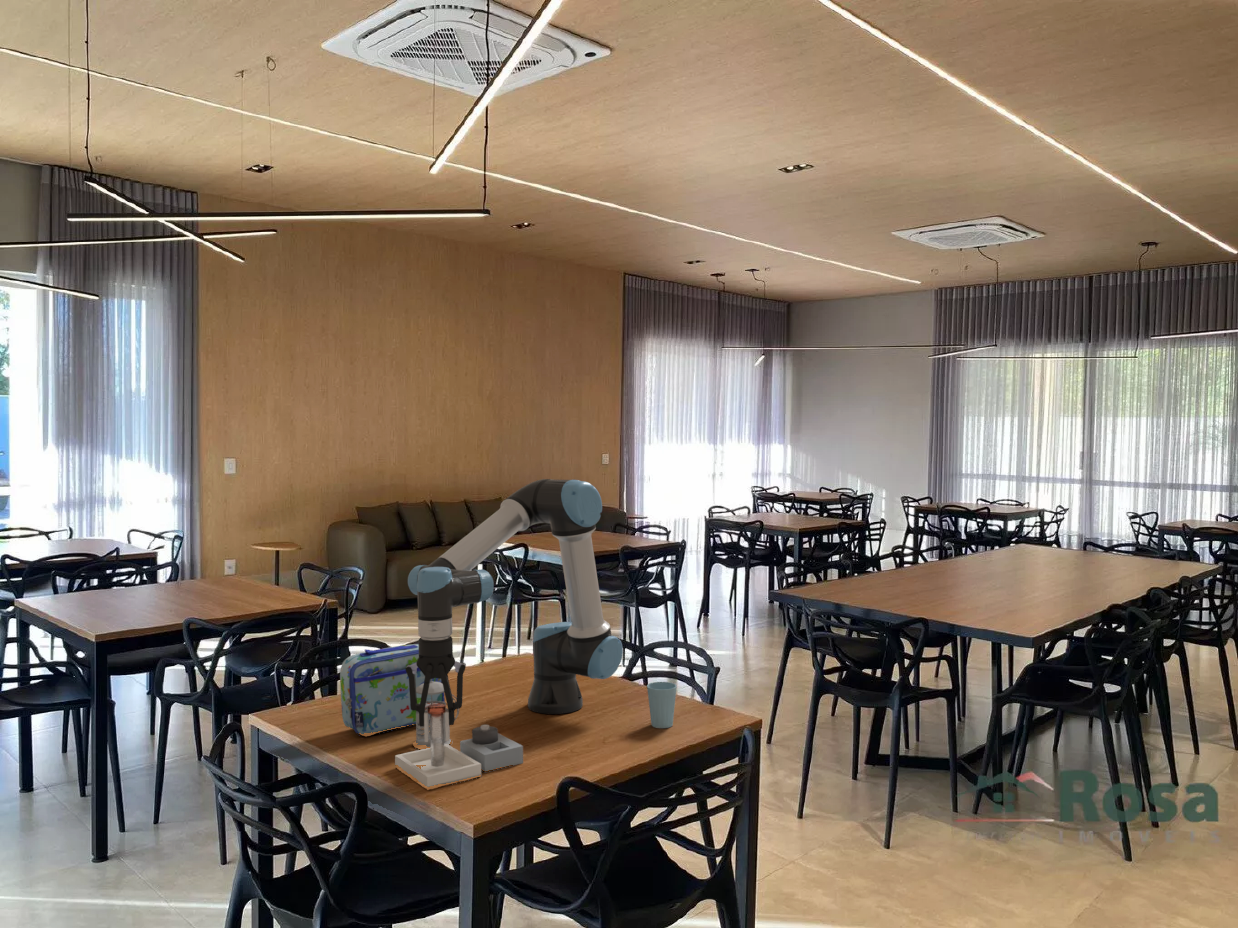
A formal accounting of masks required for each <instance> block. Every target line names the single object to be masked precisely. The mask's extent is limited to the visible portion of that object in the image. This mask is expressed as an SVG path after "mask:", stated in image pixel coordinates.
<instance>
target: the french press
mask: <svg viewBox="0 0 1238 928" xmlns="http://www.w3.org/2000/svg"><path fill="white" fill-rule="evenodd" d="M423 685H424V683H423V684H421V685H420V686H418V687H417V688H416V693H418V694H422V691H423ZM440 693H444V688H443V684H442V683H440V682H433V681H432V679H431V681H430V685H429V690H428V695H431V701H426V706H425V710H428V706H429V705H432V704H444V705H446V706H447V702H446V701H445V702H444V701H436V700H435V701H432V695H435V694H440ZM444 694H445V693H444ZM452 697H453V702H454V703H455V702H457V696H455V695H454V694H452ZM419 704H420V703H419ZM446 709H448V707H446ZM459 714H460V709H459V708H458V709H456V714H455V715H456V716H455V717H454V720H455V721H456V720H457V718H458V717H459ZM429 720H430V716H429ZM415 731H416V732H415V734H416V735H415V737H416V740H415V741H416V743H418V744H417V745H426V746H427V747H431V741H430V721H429V740H428V742H425V738H424V726H421V727H420V725H419V712H418V711H416V725H415ZM451 740H452V739H451V738H450V739H449V741H446V732H445V713H444V744H448V745H449V744H450V742H451Z"/></svg>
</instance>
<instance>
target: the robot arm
mask: <svg viewBox="0 0 1238 928" xmlns="http://www.w3.org/2000/svg"><path fill="white" fill-rule="evenodd" d="M602 501H603V500H602V497H601V495H600V492H599V491H598V489H597V488H596V487H595V486H594V485H593V484H591V483H590V482H588V481H584V480H579V479H550V478H542V479H539V480H538V479H536V480H534V481H532V482H530V483H528V484H526V485H524V486H522V487H521V488H519V489H517V490H516V491H515V492H513V493H512V494H510V495H509V496H508V497H506V498H505V499H503V501H502V502H501V503H500V506H499V507H500V508H499V509H497V510H496V511H495V512H494V513H493V514H492V515H490V516H489V517H487V518H486V519H485V520H484V521H483V522H481V523H480V524H479V525H477V526H476V527H475V528H474V529H473V530H471V531H470V532H469V533H468V534H467V535H464V537H462V538H461V539H460V540H459V541H457V542H456V543H455V544H454V545H453V546H451V547H450V548H449V549H448V550H446V551H445V552H444V553H443V554H441V555H440V556H439V557H437V559H435V560H433V561H432V562H431V563H430V564H428V565H427V564H422V565H421V564H419V565H416V566H414V567H413V568H412V569H411V570H410V572H409V574H408V576H407V587H408V589H409V591H410V592H411V593H412V594H413V595H415V596H417V615H418V616H417V624H418V625H417V630H418V631H417V633H418V636H419V637H420V638H419V639H418V644H419V658H418V660H417V663H414V664H412V665H407V667H406V673H407V675H408V677H409V690H410V707H411V710H415V711H418V712H419V725H420V727H421V726H424V728H423V729H424V733H423V734H424V738H425V742H428V740H429V732H430V731H429V727H430V726H429V722H430V721H429V713H428V710H425V706H426V701H427V695H428V690H429V685H430V680H431V679H434V678H439V679H441V681H442V684H443V688H444V698H445V702H446V707H447V709H446V711H445V732H446V741H449V739H451V737H450V736H451V735H450V733H451V731H450V728H451V727H450V726H454V724H455V721H456V720H454V719H455V711H457V709H458V710H459V709H462V707H463V696H464V694H463V689H464V686H463V685H464V673H465V670H466V668H467V667H466V666H467V664H466V662H459V661H457V660H456V658H455V657H454V648H453V646H454V645H453V637H452V635H453V608H455V607H459V606H466V605H471V604H472V605H473V604H479V603H481V602H484V601H487V600H489V599H490V598H491V597H492V595H493V594H494V590H495V589H494V586H495V585H494V584H495V583H494V579H493V576H492V575H491V574H490V572H489V571H487V570H485V569H474V568H476V567H477V566H478V565H480V564H481V563H482V562H483V561H484V560H485V559H487V557H489V556H490V555H491V554H493V552H495V551H496V550H498V549H499V548H500V547H501V546H502V545H503V544H504V543H506V542H507V541H508V540H509V539H510V538H512V537H513V536H514V535H515V534H517V532H524V531H526V530H527V529H529V527H531V526H533V525H536V524H550V531H551V535H552V536H553V537H554V538H556V539H557V540H558V543H559V544H558V545H559V550H560V555H561V556H560V557H561V563H562V570H563V575H564V577H563V578H564V582H565V584H564V585H565V588H566V594H567V595H566V596H567V602H568V603H567V604H568V608H569V609H568V610H569V615H570V621H561V622H552V623H551V622H550V623H547V624H541V625H539V626H537V627H536V628H535V629H534V631H533V641H532V647H533V650H532V651H533V653H532V654H533V682H532V685H531V687H530V693H529V695H528V698H527V707H528V709H529V710H530V711H532V712H535V713H538V714H546V715H548V714H549V715H559V714H560V715H561V714H568V713H573V712H576V711H578V710H580V709H582V707H583V700H584V699H583V696H582V692H581V690H580V687H579V683H578V681H577V675H578V676H582V677H585V678H586V677H587V678H590V679H592V680H593V679H598V680H606V679H609V678H611V677H612V676H613V675H614V674H615V673H616V671H617V670H618V669H619V666H620V664H621V662H622V660H623V659H622V658H623V651H624V648H623V644H622V641H621V639H619V638H618V637H617V636H615V635H612V630H611V625H610V623H609V622H608V621H606V620H605V619H604V614H603V607H602V601H601V600H602V599H601V593H600V586H599V580H598V574H597V567H596V559H595V553H594V544H593V539H592V534H593V533H594V532H595V531H596V529H597V527H596V526H597V525H596V524H597V523H598V522H599V521H600V519H601V516H602V515H601V513H602V512H603V502H602ZM453 667H454V669H455V672H456V673H457V675H456V698H457V700H456V702H455V701H454V700H453V698H454V696H452V695H453V693H452V690H451V685H450V680H449V674H450V671H451V670H452V669H453ZM417 668H419V669H420V670H421V672H422V673H423V674H424V675H425V680H424V685H423V691H422V696H421V701H420V704H417V695H416V678H415V674H416V672H417Z"/></svg>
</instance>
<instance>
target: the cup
mask: <svg viewBox="0 0 1238 928" xmlns="http://www.w3.org/2000/svg"><path fill="white" fill-rule="evenodd" d="M646 688H647V689H646V690H647V696H648V705H649V706H648V707H649V715H650V716H649V717H650V721H651V722H650V724H651V727H653V728H656V729H668V728H672V727H673V724H674V716H675V708H676V707H675V705H676V697H677V696H676V695H677V688H678V687H677V684H676V683H673V682H668V681H655V682H654V681H653V682H650V683H648V684H647V685H646Z"/></svg>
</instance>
